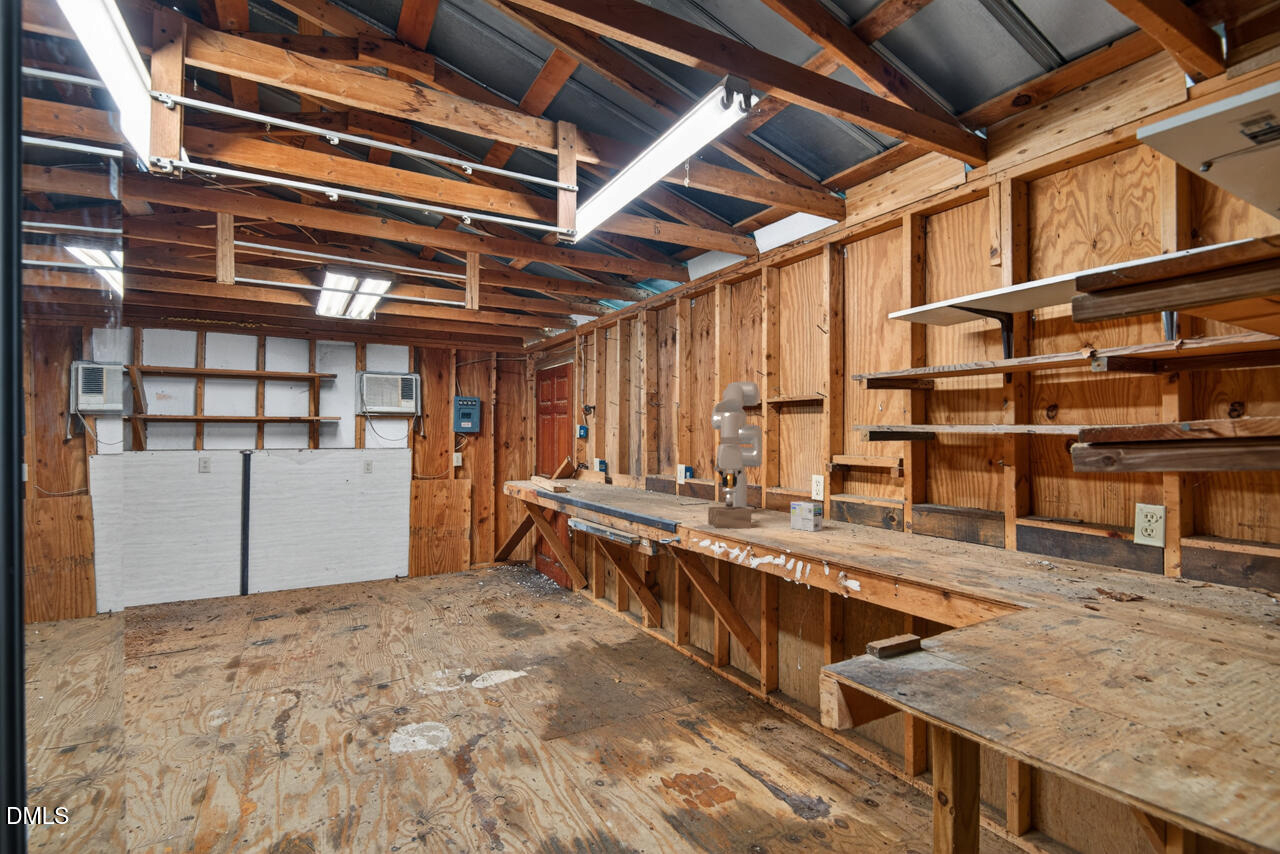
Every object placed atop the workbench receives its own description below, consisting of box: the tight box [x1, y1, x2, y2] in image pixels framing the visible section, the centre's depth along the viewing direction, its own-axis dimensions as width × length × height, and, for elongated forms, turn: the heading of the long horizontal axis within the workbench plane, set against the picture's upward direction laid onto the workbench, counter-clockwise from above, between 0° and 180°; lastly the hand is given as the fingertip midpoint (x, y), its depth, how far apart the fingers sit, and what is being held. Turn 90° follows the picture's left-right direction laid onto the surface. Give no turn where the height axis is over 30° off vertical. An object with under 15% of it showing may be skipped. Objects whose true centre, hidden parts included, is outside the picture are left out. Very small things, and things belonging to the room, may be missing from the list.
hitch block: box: [707, 506, 752, 529], centre depth 244 cm, size 14×14×7 cm
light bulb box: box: [790, 500, 823, 532], centre depth 236 cm, size 11×7×11 cm, turn 42°
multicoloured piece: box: [722, 472, 736, 507], centre depth 244 cm, size 6×6×14 cm
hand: (729, 486), depth 244 cm, fingers closed on multicoloured piece, 3 cm apart
